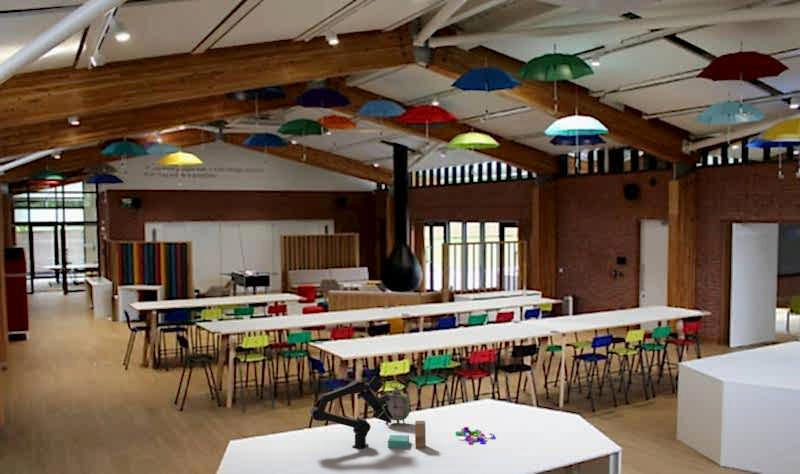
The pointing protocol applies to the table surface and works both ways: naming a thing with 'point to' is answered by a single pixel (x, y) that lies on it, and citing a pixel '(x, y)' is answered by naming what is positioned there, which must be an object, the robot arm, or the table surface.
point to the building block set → (470, 438)
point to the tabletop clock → (398, 404)
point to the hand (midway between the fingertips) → (391, 420)
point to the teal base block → (398, 441)
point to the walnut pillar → (420, 435)
